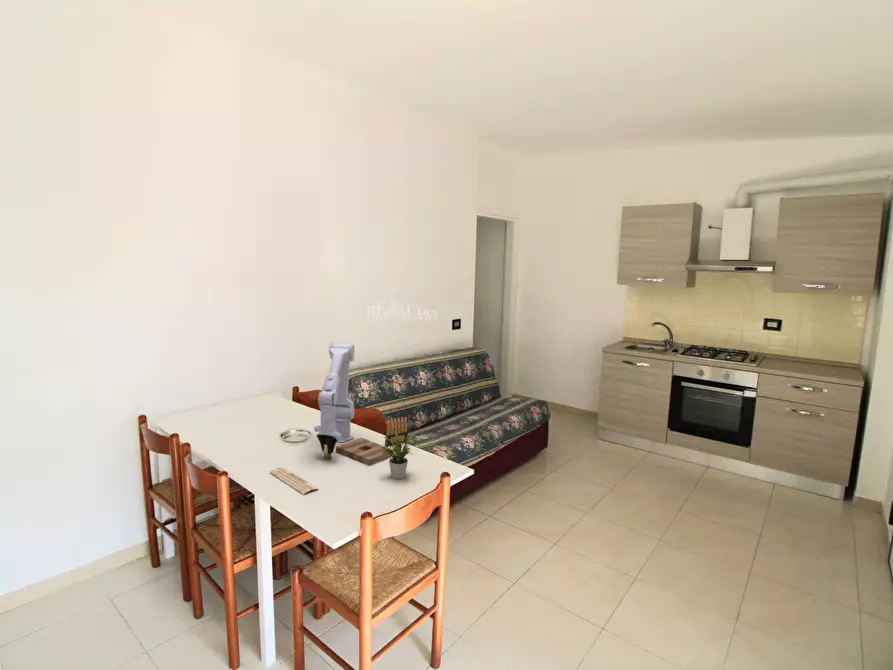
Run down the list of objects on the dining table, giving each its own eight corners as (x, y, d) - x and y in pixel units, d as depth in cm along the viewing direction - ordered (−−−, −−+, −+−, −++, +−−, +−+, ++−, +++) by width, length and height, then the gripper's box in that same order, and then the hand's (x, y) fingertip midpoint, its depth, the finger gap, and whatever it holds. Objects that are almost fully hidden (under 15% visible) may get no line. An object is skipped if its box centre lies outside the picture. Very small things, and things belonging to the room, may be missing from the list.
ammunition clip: (405, 441, 220) (406, 415, 218) (407, 442, 219) (408, 416, 217) (384, 445, 214) (385, 419, 212) (386, 447, 212) (387, 420, 211)
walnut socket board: (336, 452, 204) (336, 446, 204) (360, 443, 215) (360, 437, 215) (369, 465, 193) (369, 459, 192) (394, 455, 204) (394, 449, 203)
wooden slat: (269, 475, 183) (269, 470, 182) (286, 469, 188) (286, 465, 187) (303, 497, 167) (303, 492, 167) (321, 490, 172) (321, 486, 172)
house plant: (399, 463, 196) (400, 424, 193) (425, 474, 187) (426, 433, 185) (372, 474, 185) (373, 433, 182) (398, 486, 176) (400, 443, 174)
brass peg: (322, 457, 198) (322, 443, 197) (328, 455, 201) (328, 441, 200) (327, 459, 196) (327, 445, 196) (333, 457, 199) (333, 443, 198)
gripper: (308, 418, 197) (308, 450, 199) (331, 426, 189) (331, 459, 191) (322, 414, 203) (322, 445, 205) (345, 422, 194) (345, 454, 196)
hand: (327, 452), depth 198 cm, fingers closed on brass peg, 3 cm apart
